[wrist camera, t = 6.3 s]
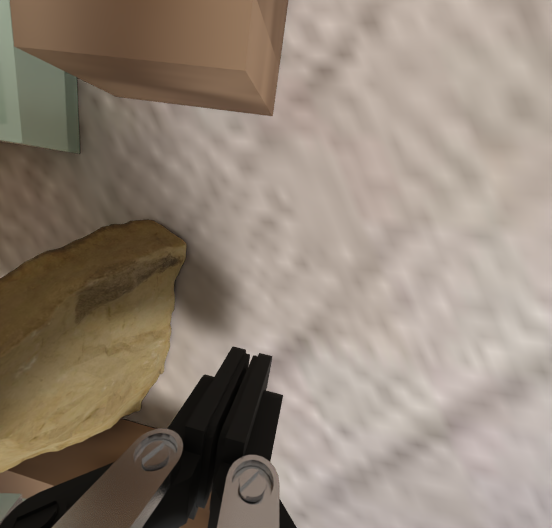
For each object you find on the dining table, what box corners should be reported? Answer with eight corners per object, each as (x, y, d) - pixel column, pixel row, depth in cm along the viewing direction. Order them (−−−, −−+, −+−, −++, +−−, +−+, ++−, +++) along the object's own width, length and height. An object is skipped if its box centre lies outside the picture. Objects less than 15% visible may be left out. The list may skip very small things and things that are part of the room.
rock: (89, 139, 10) (-86, 282, 11) (-39, 322, 4) (-395, 591, 5) (248, 285, 17) (131, 361, 19) (293, 427, 11) (114, 524, 12)
